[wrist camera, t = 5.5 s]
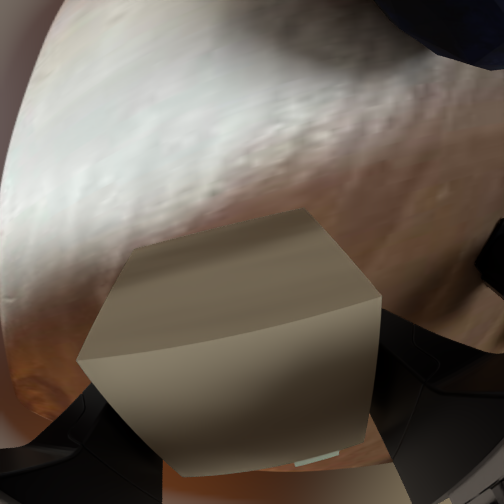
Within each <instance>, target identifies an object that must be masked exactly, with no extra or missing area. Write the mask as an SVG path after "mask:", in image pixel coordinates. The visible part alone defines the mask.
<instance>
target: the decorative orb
mask: <svg viewBox="0 0 504 504" xmlns="http://www.w3.org/2000/svg"><path fill="white" fill-rule="evenodd" d="M374 1H375V3H376V4H377V5H378V6H379V7H380V8H381V10H382V11H383V12H384V13H385V15H386V16H387V17H388V18H389V20H390V21H391V22H393V23H394V24H395V25H396V26H397V27H398V28H400V29H401V30H402V31H404V32H405V33H407V34H408V35H410V36H411V37H413V38H414V39H416V40H417V41H419V42H420V43H422V44H423V45H424V46H426V47H427V48H429V49H430V50H431V51H433V52H434V53H435V54H437V55H440V56H443V57H447V58H450V59H454V60H457V61H460V62H463V63H466V64H469V65H473V66H476V67H480V68H483V69H486V70H490V71H492V70H501V69H504V0H374Z"/></svg>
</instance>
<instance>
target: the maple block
mask: <svg viewBox="0 0 504 504" xmlns="http://www.w3.org/2000/svg"><path fill="white" fill-rule="evenodd" d="M381 305H382V296H381V294H380V293H379V292H378V291H377V290H376V288H375V287H374V286H373V285H372V284H371V282H370V281H369V280H368V279H367V278H366V276H365V275H364V274H363V273H362V272H361V271H360V269H359V268H358V267H357V266H356V265H355V264H354V262H353V261H352V260H351V259H350V258H349V257H348V256H347V254H346V253H345V252H344V251H343V250H342V249H341V248H340V246H339V245H338V244H337V243H336V242H335V241H334V240H333V239H332V237H331V236H330V235H329V234H328V233H327V232H326V231H325V230H324V229H323V228H322V226H321V225H320V224H319V223H318V222H317V221H316V220H315V219H314V218H313V217H312V216H311V215H310V213H309V212H308V211H307V210H306V209H305V208H300V209H296V210H291V211H287V212H282V213H278V214H273V215H269V216H265V217H260V218H256V219H252V220H248V221H243V222H239V223H235V224H231V225H227V226H223V227H219V228H215V229H210V230H206V231H202V232H198V233H194V234H190V235H187V236H183V237H179V238H175V239H171V240H167V241H163V242H159V243H156V244H152V245H148V246H144V247H141V248H137V249H134V250H133V252H132V254H131V255H130V257H129V259H128V261H127V262H126V264H125V266H124V268H123V269H122V271H121V273H120V275H119V276H118V278H117V280H116V282H115V284H114V285H113V287H112V289H111V291H110V293H109V295H108V296H107V298H106V300H105V302H104V304H103V306H102V308H101V310H100V312H99V314H98V316H97V318H96V320H95V322H94V324H93V326H92V328H91V330H90V332H89V334H88V336H87V338H86V340H85V342H84V344H83V346H82V349H81V351H80V353H79V355H78V357H77V360H76V361H77V363H78V364H79V365H80V367H81V368H82V370H83V371H84V372H85V374H86V375H87V376H88V378H89V379H90V380H91V382H92V383H93V384H94V385H95V387H96V388H97V389H98V390H99V392H100V393H101V394H102V395H103V397H104V398H105V399H106V400H107V401H108V403H109V404H110V405H111V406H112V407H113V409H114V410H115V411H116V412H117V413H118V414H119V415H120V417H121V418H122V419H123V420H124V421H125V422H126V423H127V424H128V425H129V426H130V427H131V429H132V430H133V431H134V432H135V433H136V434H137V435H138V436H139V437H140V438H141V439H142V440H143V441H144V442H145V443H146V444H147V445H148V446H149V447H150V448H151V449H152V450H153V451H154V452H155V453H156V454H157V455H159V456H160V457H161V458H162V459H163V460H164V461H165V462H166V463H167V464H168V465H169V466H171V467H172V468H173V469H174V470H175V471H176V472H177V473H179V474H180V475H181V476H182V477H197V476H211V475H221V474H230V473H239V472H246V471H252V470H259V469H265V468H270V467H275V466H280V465H285V464H290V463H294V462H299V461H303V460H307V459H311V458H314V457H318V456H322V455H325V454H329V453H332V452H336V451H339V450H342V449H345V448H348V447H351V446H354V445H357V444H360V443H363V442H364V438H365V433H366V428H367V423H368V417H369V412H370V406H371V400H372V394H373V387H374V380H375V372H376V364H377V355H378V345H379V334H380V321H381Z"/></svg>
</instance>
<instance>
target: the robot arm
mask: <svg viewBox="0 0 504 504" xmlns="http://www.w3.org/2000/svg"><path fill="white" fill-rule="evenodd" d="M475 266H476V267H477V269H478V270H479V271H480V273H481V274H482V275H481V279H482V280H483V281H484V282H485V284H486V285H487V286H488V287H489V288H490V289H491V290H492V291H494V292H495V293H496V294H497V295H498V296H500V297H501V298H502V299H503V300H504V218H502V220H501V221H500V223H499V225H498V227H497V228H496V230H495V232H494V234H493V235H492V237H491V239H490V240H489V242H488V244H487V245H486V247H485V248H484V250H483V252H482V253H481V255H480V256H479V258H478V259H477V261H476V264H475ZM369 413H370V415H371V417H372V419H373V421H374V423H375V425H376V427H377V429H378V431H379V433H380V435H381V437H382V439H383V441H384V444H385V446H386V448H387V450H388V452H389V454H390V456H391V458H392V459H393V463H394V465H395V467H396V469H397V471H398V473H399V476H400V477H401V480H402V482H403V484H404V486H405V489H406V491H407V493H408V495H409V497H410V500H411V502H412V504H438V503H440V502H442V501H444V500H445V499H447V498H450V500H451V502H452V504H504V353H501V354H494V353H488V352H484V351H481V350H479V349H476V348H473V347H470V346H467V345H465V344H462V343H459V342H456V341H453V340H451V339H448V338H445V337H443V336H440V335H438V334H435V333H433V332H431V331H429V330H427V329H424V328H422V327H420V326H418V325H416V324H414V325H413V323H412V322H410V321H407V320H405V319H403V318H401V317H399V316H397V315H395V314H393V313H391V312H389V311H387V310H385V309H382V308H381V321H380V334H379V345H378V355H377V364H376V372H375V380H374V387H373V394H372V400H371V406H370V412H369ZM162 468H163V459H162V458H161V457H160V456H159V455H157V454H156V453H155V452H154V451H153V450H152V449H151V448H150V447H149V446H148V445H147V444H146V443H145V442H144V441H143V440H142V439H141V438H140V437H139V436H138V435H137V434H136V433H135V432H134V431H133V430H132V429H131V427H130V426H129V425H128V424H127V423H126V422H125V421H124V420H123V419H122V418H121V417H120V415H119V414H118V413H117V412H116V411H115V410H114V409H113V407H112V406H111V405H110V404H109V403H108V401H107V400H106V399H105V398H104V397H103V395H102V394H101V393H100V392H99V390H98V389H97V388H96V387H95V385H94V384H93V383H91V384H90V385H89V386H88V387H87V388H86V389H85V390H84V391H83V392H82V394H80V395H79V396H78V398H77V399H76V400H75V401H74V402H73V403H72V404H71V405H70V406H69V407H68V408H67V409H66V410H65V411H64V412H63V413H62V414H61V415H60V416H59V417H58V418H57V419H56V420H55V421H53V422H52V423H51V424H50V425H49V426H48V427H47V428H46V429H45V430H44V431H43V432H41V433H40V434H39V435H38V436H37V437H36V438H35V439H34V440H33V441H31V442H30V443H28V444H26V445H24V446H21V447H16V448H5V449H0V504H162V470H163V469H162Z"/></svg>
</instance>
